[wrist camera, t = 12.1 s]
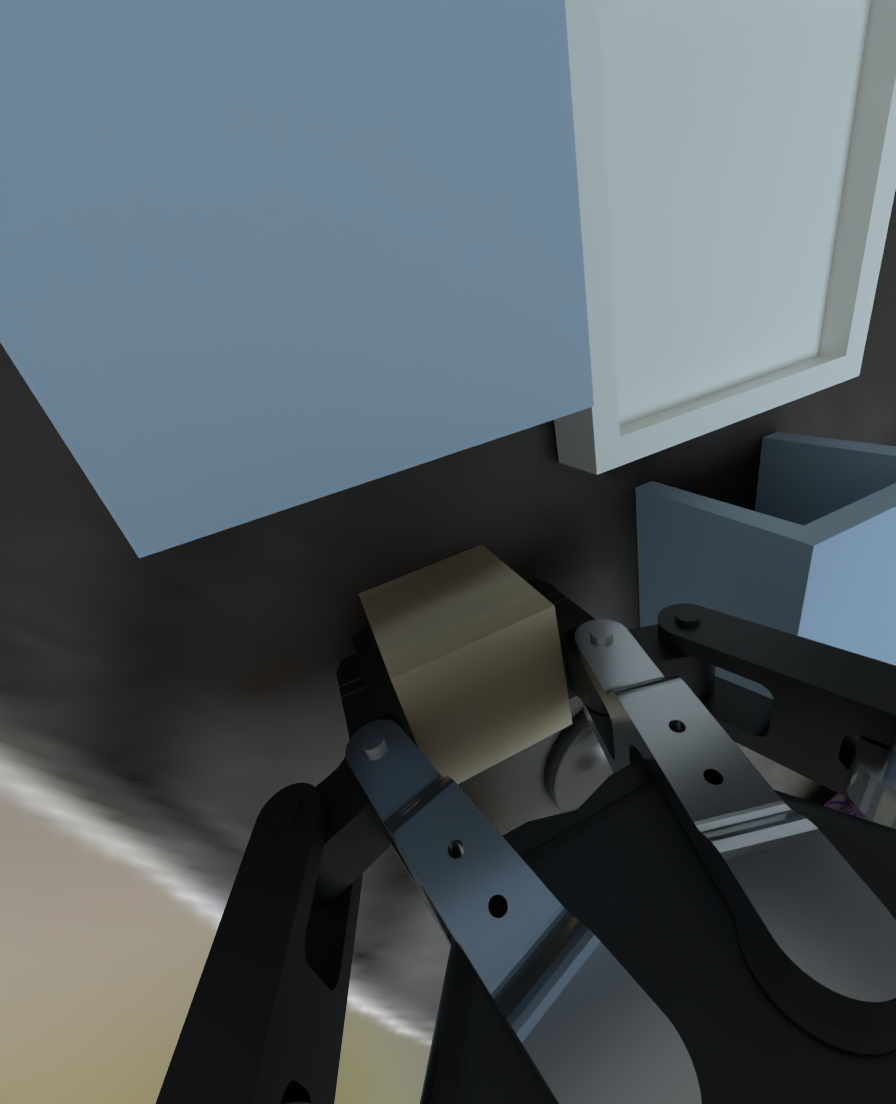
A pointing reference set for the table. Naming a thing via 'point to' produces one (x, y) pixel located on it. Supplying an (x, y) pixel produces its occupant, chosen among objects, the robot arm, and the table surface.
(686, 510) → the cover far
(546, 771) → the balance
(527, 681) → the block
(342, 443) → the cover near
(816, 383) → the dish
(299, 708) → the table surface
